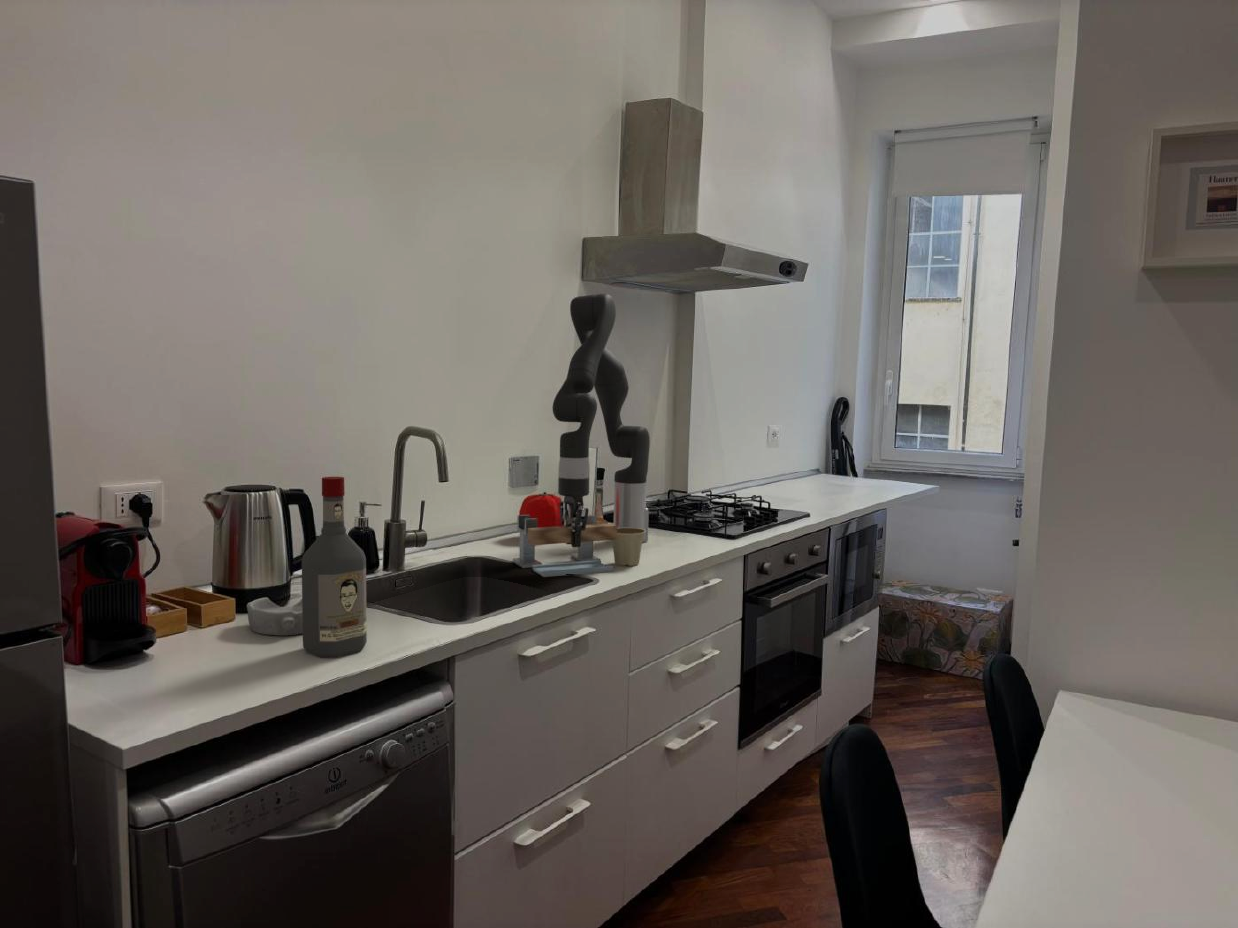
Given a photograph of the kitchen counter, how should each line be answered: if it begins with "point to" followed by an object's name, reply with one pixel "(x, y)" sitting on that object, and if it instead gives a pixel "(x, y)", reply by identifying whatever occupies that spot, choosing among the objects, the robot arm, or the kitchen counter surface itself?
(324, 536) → the liquor
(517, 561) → the rack
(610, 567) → the mat
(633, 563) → the flower pot
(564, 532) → the rail
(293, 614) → the dish
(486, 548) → the kitchen counter surface
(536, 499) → the tomato
